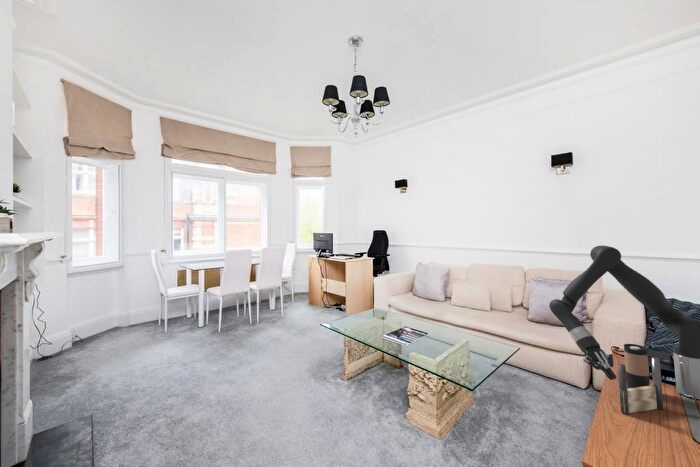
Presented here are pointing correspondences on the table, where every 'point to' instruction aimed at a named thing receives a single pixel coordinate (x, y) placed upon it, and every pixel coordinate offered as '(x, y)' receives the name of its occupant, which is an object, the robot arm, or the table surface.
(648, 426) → the table surface
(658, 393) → the gate post
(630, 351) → the travel mug
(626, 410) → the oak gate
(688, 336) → the robot arm
